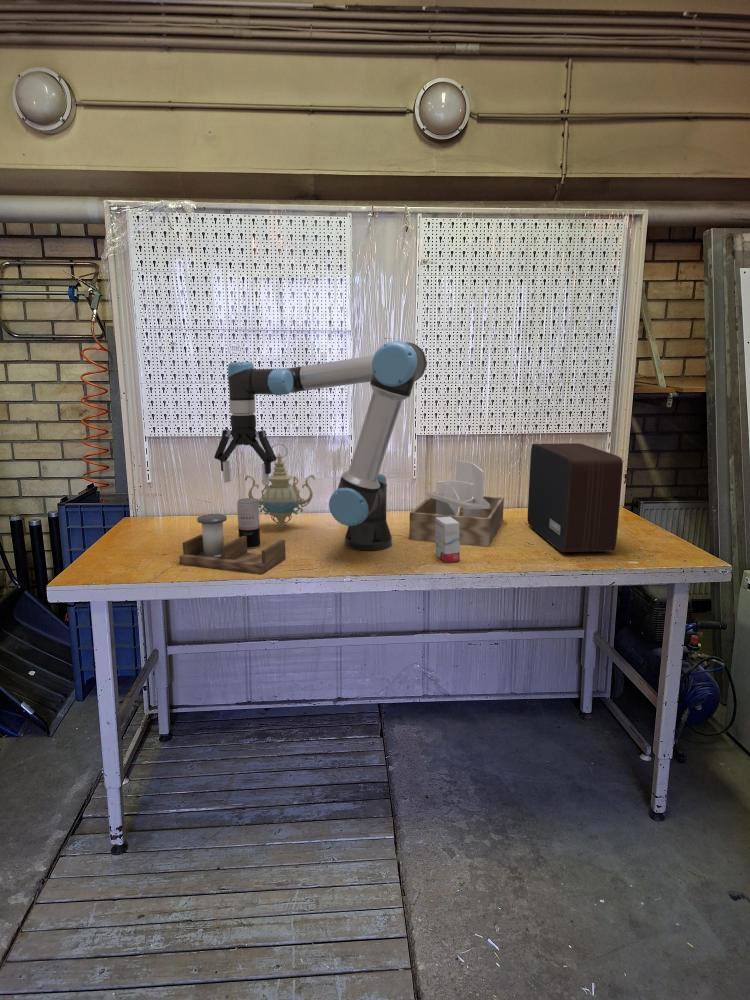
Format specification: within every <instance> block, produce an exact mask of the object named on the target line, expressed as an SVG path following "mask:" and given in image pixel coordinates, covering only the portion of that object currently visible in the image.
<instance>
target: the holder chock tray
mask: <svg viewBox="0 0 750 1000" xmlns="http://www.w3.org/2000/svg"><path fill="white" fill-rule="evenodd" d="M483 498H484V499H485V500H486V501H487V502H488V503H489V504H490V509H481V518H478V517H465V516H453V515H440V514H436V499H433V498H430V497H428V496H427V497H426V499H425V500H423V501H422V502H420V504H419V505H418V506H416V507H415V508H414V509H412V510H411V511H410V512H409V532H408V533H409V537H408V538H409V539H408V540H413V541H422V542H423V541H424V542H432V543H433V542H435V543H436V518H437V517H452V518H453V519H454V520H456V521H457V522H459V523H460V524H459V545H464V544H466V546H475V545H477V546H476V547H486V546H487V548H489V547H490V545H491V544H492V542H493V540H494V538H495V537H496V534H497V533H498V532H499V529H500V527H501V525H502V524H503V521H504V502H505V501H504V500H505V497H500V496H499V497H498V496H497V497H496V496H486V495H485V496H484V495H483Z"/></svg>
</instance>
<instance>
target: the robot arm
mask: <svg viewBox="0 0 750 1000" xmlns="http://www.w3.org/2000/svg"><path fill="white" fill-rule="evenodd" d="M426 370H427V357H426V355H425V352H424V350H423V349H422V348H421V347H420V346H418V345H417V344H415V343H413V342H408V341H400V340H391V341H389V342H386V343H384V344H382V345H381V346H380V347H379V348H378V349H376V351H375V352H374V354H373V355H367V356H360V357H355V358H354V357H353V358H348V359H341V360H336V361H335V360H334V361H329V362H328V361H327V362H321V363H315V364H309V365H304V366H303V365H302V366H295V367H289V368H288V367H287V368H255V367H254V364H253V362H251V361H249V362H248V361H245V362H244V361H243V362H239V361H237V362H236V361H233V362H230V363H228V365H227V381H228V392H229V393H228V394H229V395H228V396H229V413H230V414H231V415H230V416H229V417H230V427H231V429H229V428H225V429H222V432H221V438H220V441H219V443H218V446H217V449H216V452H215V454H214V459H215V460H218V461H219V462H220V471H221V472H223V483H230V482H231V465H230V464H231V463H230V460H228V459H229V457H230V456H231V454H232V453H233V452H234V450H235V449H236V448H237V446H242V445H244V446H249V447H251V448H252V449H253V450H254V451H255V452H256V454H257V456H258V457H259V458H260V459H261V460H262V462H263V463H262V464H261V471H262V474H261V475H262V479H263V483H262V486H265V485H267V484H268V485H270V481H269V478H270V474H271V473H272V463H273V462H274V461H275V462H277V461H278V459H277V458H276V457H277V456H276V454H275V452H274V450H273V448H272V446H271V443H270V441H269V440H268V438H267V432H266V430H259V431H257V429H256V427H257V418H256V414H255V413H256V399H255V398H256V396H255V395H266V396H267V395H270V396H284V395H285V396H287V395H290V394H291V393H292V394H295V393H299V392H305V391H311V390H319V389H327V388H332V387H335V388H336V387H341V386H348V385H356V384H364V383H365V384H366V383H369V385H370V387H371V389H372V395H371V398H370V401H369V404H368V407H367V410H366V413H365V417H364V421H363V423H362V426H361V428H360V429H361V430H360V431H359V432H360V433H359V436H358V440H357V443H356V446H355V449H354V451H353V456H352V458H351V462H350V465H349V468H348V469H347V470H346V471H344V472H342V473H341V477H340V480H339V482H338V483H339V484H338V485H337V489H336V490H334V491H333V493H332V495H331V496H330V497H329V502H328V508H329V512H330V513H331V515H332V517H333V519H334V520H335V521H337V523H339V524H341V525H343V526H346V527H347V529H346V533H345V535H344V546H345V547H346V548H348V549H351V550H355V551H356V550H357V551H370V552H371V551H381V550H385V549H388V548H390V547H391V546H392V545H393V544H392V543H393V538H392V534H391V531H390V527H389V524H388V522H387V488H388V484H387V476H385V475H384V474H383V473H380V472H381V471H380V470H381V468H382V464H383V462H384V458H385V455H386V452H387V449H388V445H389V442H390V440H391V436H392V434H393V431H394V428H395V425H396V421H397V419H398V416H399V412H400V409H401V406H402V403H403V402H404V400H407V399H408V398H410V396H411V394H412V390H413V388H414V384H415V382H417V381H418V380H419V379H421V377H423V375H424V374H425V371H426ZM230 437H232V440H231V441H230V442H229V439H230ZM256 437H257V438H258V439H259V441H258V440H257V439H256ZM228 443H229V445H228ZM227 445H228V446H227Z"/></svg>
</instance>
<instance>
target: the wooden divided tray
mask: <svg viewBox="0 0 750 1000" xmlns="http://www.w3.org/2000/svg"><path fill="white" fill-rule="evenodd" d="M202 551H203V536H202V533H201V534H199V535H197V536H195V537H191V538H190V539H188V540H185V541H183V542H182V554H181V555H179V556H178V557H179V558H178V560H179V565H182V566H183V565H184V566H189V567H190V566H191V567H199V568H208V569H217V570H224V571H231V572H232V571H233V572H238V573H239V572H241V573H248V574H258V575H265V573H267V572H268V570H269V571H270V570H272V569H273V568H275V567H276V566H278V565H279V564H282V562H284V561H286V560H287V556H286V554H287V553H286V552H287V551H286V539H280V540H278V541H276V542H275V543H273V544H271V545H269V546H267V547H266V548H264V549H263V550H260V553H257V552H256V553H255V552H248V549H247V536H242V537H240V538H239V537H238V538H236V539H233V540H231V541H230V542H228V543H226V544H224V546H222V547H221V554H222V558H213V557H204V556H200V555H199V553H200V552H202ZM285 559H286V560H285Z"/></svg>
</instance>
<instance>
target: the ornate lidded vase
mask: <svg viewBox="0 0 750 1000" xmlns="http://www.w3.org/2000/svg"><path fill="white" fill-rule="evenodd" d="M278 445H280V446H283V448H285V450H286V453H285V454H284V456H282V455H281V453H280V452H279V453H278V454H277V456H276V458H277V461H273V462H274V467H273V470H274V471H273V472H272V474H273V475H272V474H271V475H269V483H271V484H267V485H264V488H263V489H262V490H261V491H260V492H261V498H257V499H258V503H259V513H262V512H264V515H266V516H267V515H269V516H271V517H270V518H271V520H272V521H273V522H274V523H276V525H275V527H278V528H279V529H281V530H283V529H285V528H286V527H289V525H288V523H289V522H290V521H291V520H292V518H293V516H292V515H293V514H295V515H298V514H299V511H300V512H301V513H302V512H304V510H303V508H304V507H306V506H308V505H309V504H310V502H311V501H312V499H313V494H314V493H313V490H312V488H311V486H310V485H309V483H308V479H309V478H312V479H313V481H315V480H316V477H315V474H310V475H308V476H307V477H306V479H305V483H303V484H302V485H301V488H302V489H304V488H305V487H307V488H308V490H309V496H308V498H306V499H305V498H302V497H301V496H300V493H301V490H300V489H299V488H298V487H297V485H298V483H299V478H298V477H297V476H296V475H293V477H292V475H289V474H288V473H287V472H288V471H287V470H286V468H287V466H285V463H286V459H285V460H284V461H282V459H283V458H285V457H286V456H287V454H288V448H287V446H286V445H284V444H283V443H275V444H274V445H272V446H271V448H272V449H273V448H274V447H275V446H278ZM248 478H249V479H251V480H252V486H251V488H249V491H248V495H247V496H248V498H254V495H252V491H253V488H255V487H256V489H259V487H260V485H259V484H257V483H256V479H255V478H254V477H253V476H252V475H250V474H247V475H245V478H244V481H245V482H247V480H248ZM292 478H293V484H290V482H289V481H290V480H291V479H292ZM261 483H262V484H263V478H262V480H261ZM262 506H263V507H262ZM295 509H296V510H295ZM287 517H288V520H287ZM275 518H276V519H275ZM276 520H277V521H276ZM286 520H287V521H286Z"/></svg>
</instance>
